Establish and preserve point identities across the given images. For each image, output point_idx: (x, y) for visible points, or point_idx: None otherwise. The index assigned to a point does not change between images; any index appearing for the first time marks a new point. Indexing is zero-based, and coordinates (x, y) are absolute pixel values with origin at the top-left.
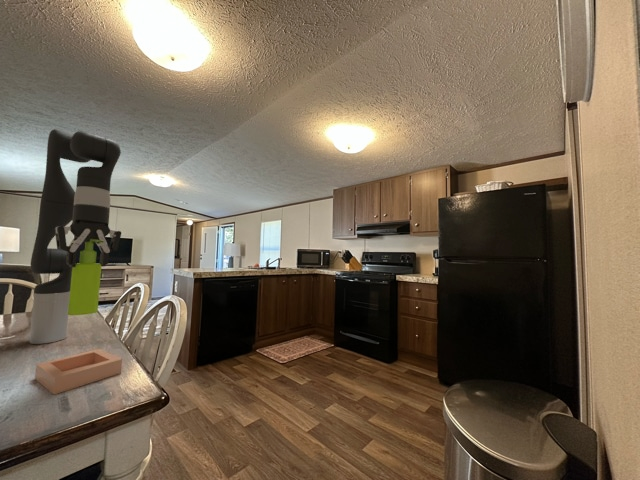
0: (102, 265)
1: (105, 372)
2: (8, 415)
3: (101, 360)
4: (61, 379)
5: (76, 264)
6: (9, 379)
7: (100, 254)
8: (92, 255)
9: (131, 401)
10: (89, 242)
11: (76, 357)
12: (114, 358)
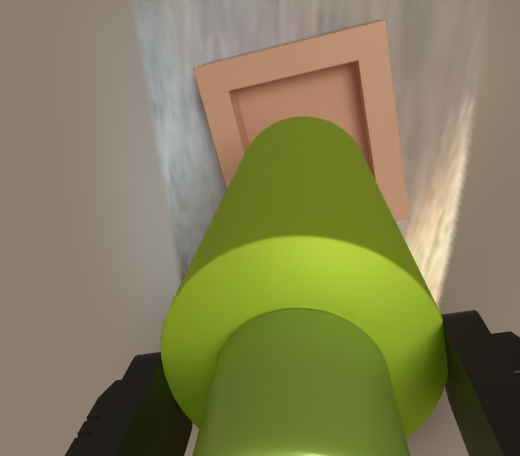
0: (447, 393)
1: None
2: (182, 270)
3: (367, 131)
4: None
5: (195, 424)
6: (142, 11)
7: (500, 450)
8: None
9: None
10: None
11: (301, 72)
12: (393, 195)
